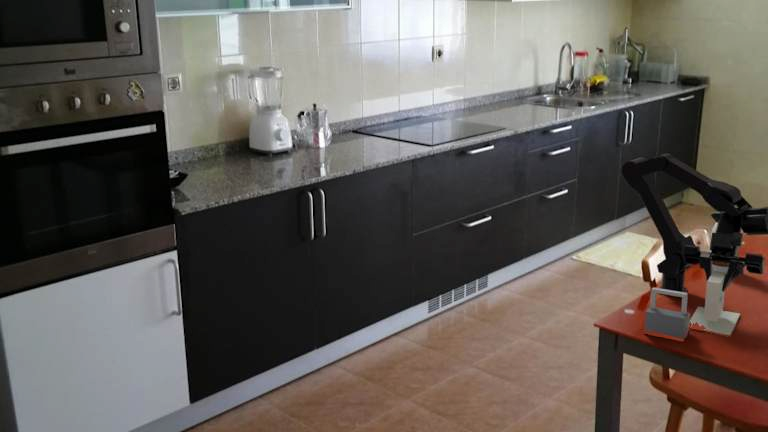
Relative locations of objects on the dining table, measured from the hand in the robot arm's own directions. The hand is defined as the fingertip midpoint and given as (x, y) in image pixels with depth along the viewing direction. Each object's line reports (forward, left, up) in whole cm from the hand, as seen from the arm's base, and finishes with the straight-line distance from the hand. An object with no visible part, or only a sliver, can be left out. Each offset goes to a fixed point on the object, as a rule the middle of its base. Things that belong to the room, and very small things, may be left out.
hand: (715, 289), depth 194 cm
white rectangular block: (0, 0, -7) cm, 7 cm away
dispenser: (+12, -8, -9) cm, 17 cm away
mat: (0, 0, -9) cm, 9 cm away
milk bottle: (-38, -4, -9) cm, 40 cm away
